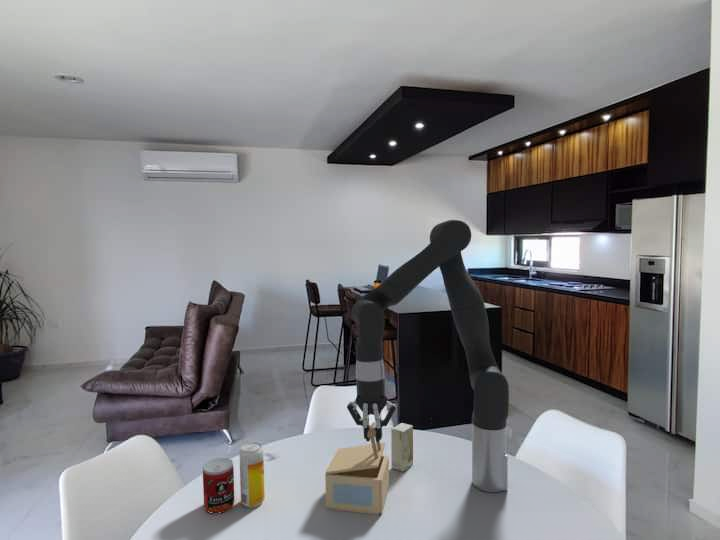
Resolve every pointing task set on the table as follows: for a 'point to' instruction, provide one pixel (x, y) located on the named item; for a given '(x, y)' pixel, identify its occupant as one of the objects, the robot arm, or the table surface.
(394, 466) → the skincare box
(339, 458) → the flap
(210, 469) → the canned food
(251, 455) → the beer can
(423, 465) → the table surface
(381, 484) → the wooden box
